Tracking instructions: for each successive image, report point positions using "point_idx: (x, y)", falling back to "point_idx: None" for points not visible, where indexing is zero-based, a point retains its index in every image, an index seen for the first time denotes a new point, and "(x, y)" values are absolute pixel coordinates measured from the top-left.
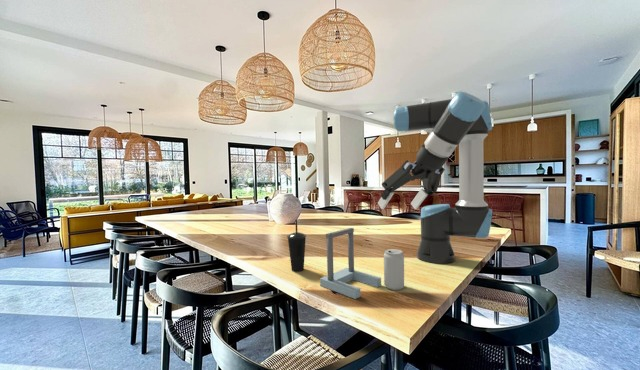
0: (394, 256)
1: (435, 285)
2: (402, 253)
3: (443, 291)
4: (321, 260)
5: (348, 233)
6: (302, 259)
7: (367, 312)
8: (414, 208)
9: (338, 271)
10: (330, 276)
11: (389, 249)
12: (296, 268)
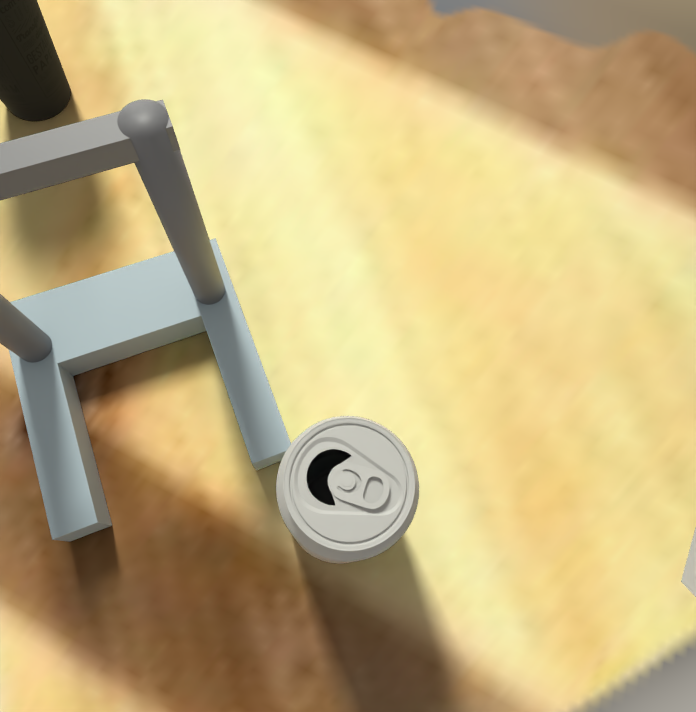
0: (309, 542)
1: (555, 596)
2: (398, 525)
3: (541, 682)
4: (216, 40)
5: (108, 169)
6: (22, 75)
7: (26, 698)
8: (687, 570)
9: (143, 265)
10: (13, 351)
11: (355, 423)
12: (9, 105)
